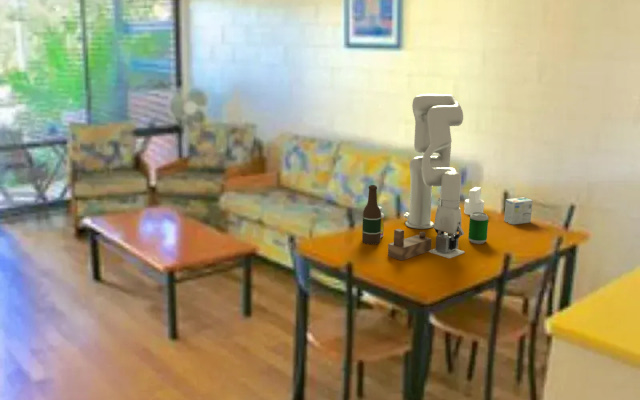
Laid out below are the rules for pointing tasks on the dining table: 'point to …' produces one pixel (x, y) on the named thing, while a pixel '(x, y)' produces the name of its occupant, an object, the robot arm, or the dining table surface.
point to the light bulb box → (518, 210)
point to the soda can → (478, 228)
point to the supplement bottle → (381, 222)
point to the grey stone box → (444, 243)
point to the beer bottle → (371, 218)
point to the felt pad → (447, 255)
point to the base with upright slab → (474, 202)
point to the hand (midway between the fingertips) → (446, 246)
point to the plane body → (408, 245)
